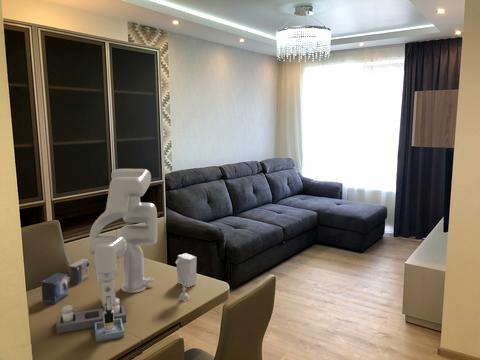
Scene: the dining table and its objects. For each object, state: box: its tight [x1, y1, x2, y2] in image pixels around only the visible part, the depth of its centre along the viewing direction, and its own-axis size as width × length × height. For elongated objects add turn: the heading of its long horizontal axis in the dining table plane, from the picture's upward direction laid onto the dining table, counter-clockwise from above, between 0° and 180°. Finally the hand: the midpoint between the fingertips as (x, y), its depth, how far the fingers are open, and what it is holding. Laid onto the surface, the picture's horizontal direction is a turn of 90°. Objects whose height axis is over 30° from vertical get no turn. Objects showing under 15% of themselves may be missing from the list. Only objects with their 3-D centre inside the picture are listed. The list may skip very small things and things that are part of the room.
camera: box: [68, 258, 90, 286], centre depth 203 cm, size 11×6×10 cm, turn 163°
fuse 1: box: [61, 304, 74, 323], centre depth 160 cm, size 4×4×8 cm
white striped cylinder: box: [103, 310, 115, 333], centre depth 156 cm, size 4×4×8 cm
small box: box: [41, 272, 69, 306], centre depth 183 cm, size 11×6×10 cm, turn 168°
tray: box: [94, 318, 125, 343], centre depth 156 cm, size 10×10×2 cm
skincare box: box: [176, 252, 198, 288], centre depth 199 cm, size 8×6×15 cm
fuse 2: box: [112, 297, 121, 314], centre depth 167 cm, size 4×4×8 cm
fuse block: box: [55, 304, 127, 334], centre depth 164 cm, size 26×9×3 cm, turn 111°
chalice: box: [175, 259, 191, 301], centre depth 184 cm, size 7×7×18 cm
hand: (108, 318), depth 155 cm, fingers open, 5 cm apart
